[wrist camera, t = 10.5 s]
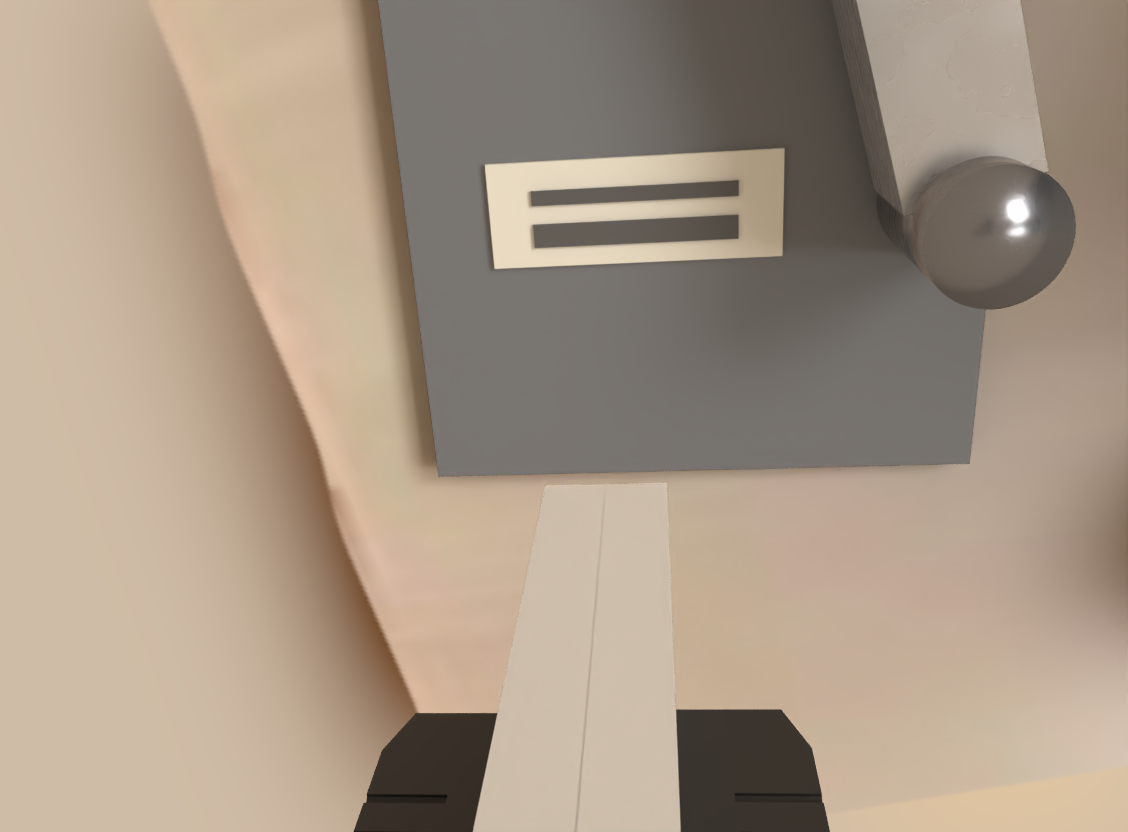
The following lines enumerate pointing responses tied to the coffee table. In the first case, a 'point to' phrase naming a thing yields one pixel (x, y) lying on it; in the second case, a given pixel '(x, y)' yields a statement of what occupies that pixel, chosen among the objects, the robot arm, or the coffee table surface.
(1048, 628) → the coffee table surface
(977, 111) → the swing bar
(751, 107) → the panel
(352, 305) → the coffee table surface
